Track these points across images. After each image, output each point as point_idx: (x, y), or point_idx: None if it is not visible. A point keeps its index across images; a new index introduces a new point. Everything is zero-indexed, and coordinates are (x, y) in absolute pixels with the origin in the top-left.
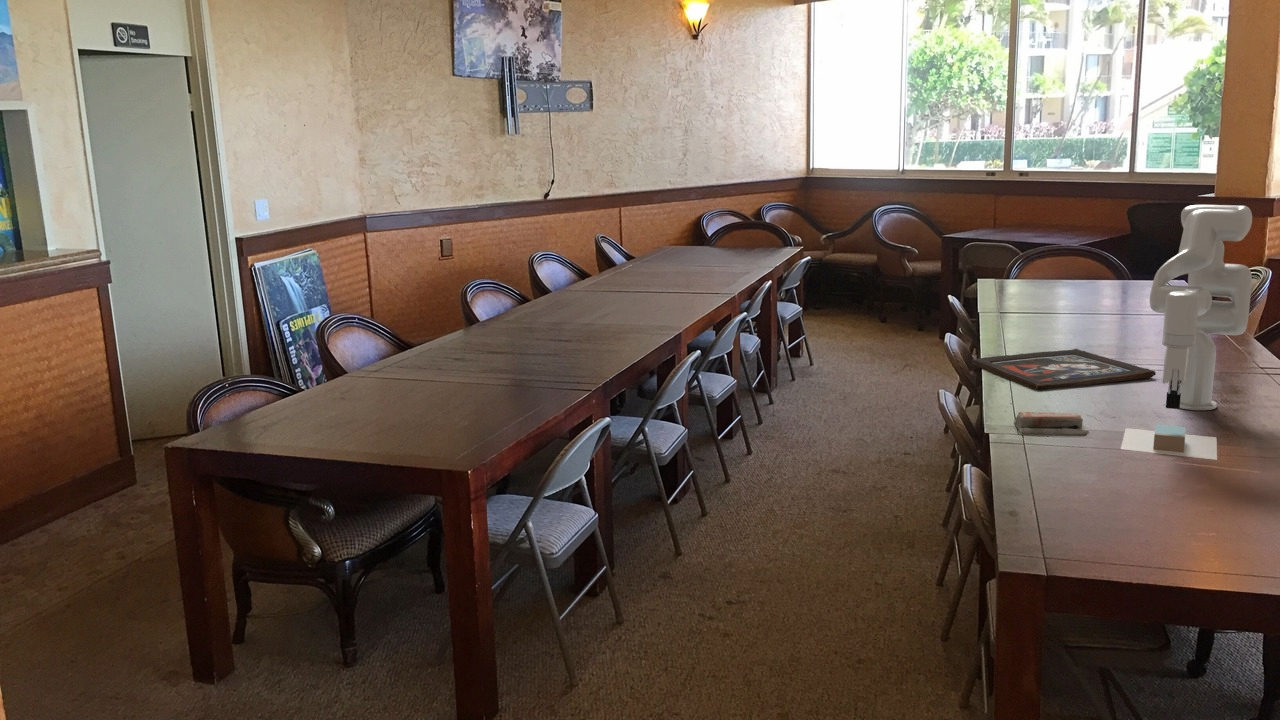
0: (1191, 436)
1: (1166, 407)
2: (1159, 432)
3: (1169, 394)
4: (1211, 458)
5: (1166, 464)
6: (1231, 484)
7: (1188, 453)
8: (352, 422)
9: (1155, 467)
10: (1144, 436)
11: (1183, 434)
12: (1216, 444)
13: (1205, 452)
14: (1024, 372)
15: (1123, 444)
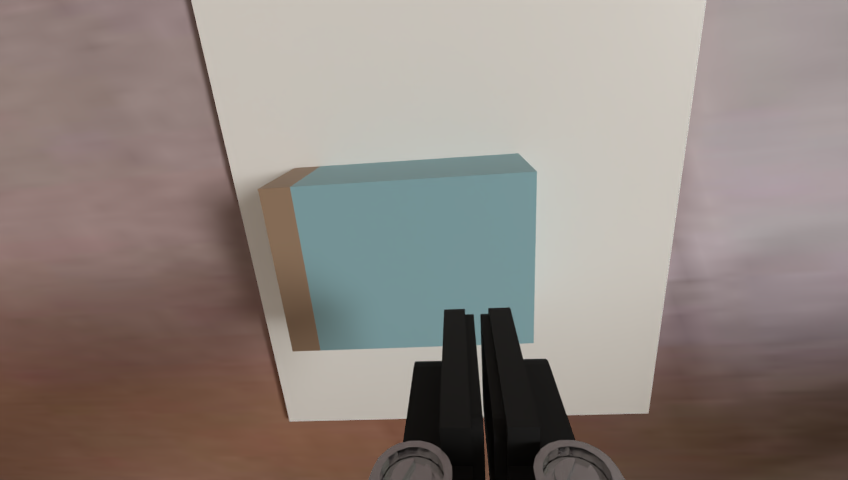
0: (628, 320)
1: (444, 313)
2: (326, 213)
3: (440, 446)
4: (296, 403)
5: (113, 246)
6: (43, 456)
7: None
8: None
9: (32, 205)
10: (538, 90)
11: (357, 340)
12: None
13: (372, 382)
14: None
15: None
